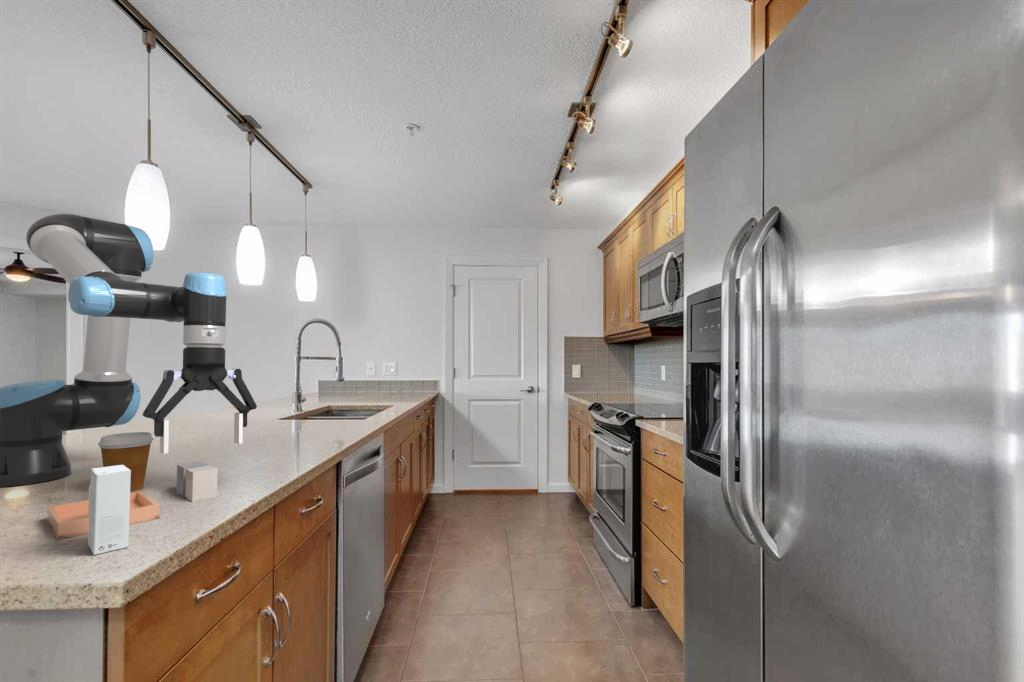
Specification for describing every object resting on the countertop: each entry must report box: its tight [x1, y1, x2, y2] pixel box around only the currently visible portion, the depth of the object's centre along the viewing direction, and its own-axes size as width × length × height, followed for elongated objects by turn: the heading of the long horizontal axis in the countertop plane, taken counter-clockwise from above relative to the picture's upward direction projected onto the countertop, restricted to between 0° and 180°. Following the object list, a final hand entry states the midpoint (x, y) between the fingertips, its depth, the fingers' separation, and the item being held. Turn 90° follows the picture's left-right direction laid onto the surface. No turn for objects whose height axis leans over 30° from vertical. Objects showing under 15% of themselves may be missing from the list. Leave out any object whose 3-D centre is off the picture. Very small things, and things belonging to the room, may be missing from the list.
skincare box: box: [87, 465, 131, 556], centre depth 74 cm, size 6×4×12 cm
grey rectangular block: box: [176, 461, 209, 497], centre depth 103 cm, size 4×4×6 cm
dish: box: [46, 490, 160, 541], centre depth 85 cm, size 13×13×2 cm
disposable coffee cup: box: [97, 431, 154, 492], centre depth 104 cm, size 10×10×12 cm
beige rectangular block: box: [184, 464, 219, 502], centre depth 99 cm, size 4×4×6 cm
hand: (203, 447), depth 99 cm, fingers open, 13 cm apart
